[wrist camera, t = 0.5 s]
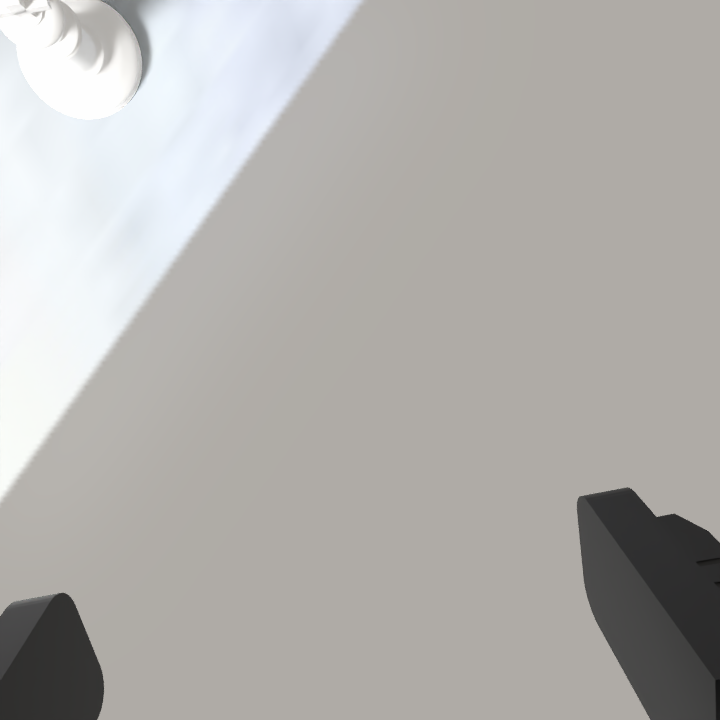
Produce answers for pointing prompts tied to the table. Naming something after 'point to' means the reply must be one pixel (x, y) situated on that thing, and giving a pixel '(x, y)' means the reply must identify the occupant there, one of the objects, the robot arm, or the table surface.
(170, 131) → the table surface
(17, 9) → the chess piece
